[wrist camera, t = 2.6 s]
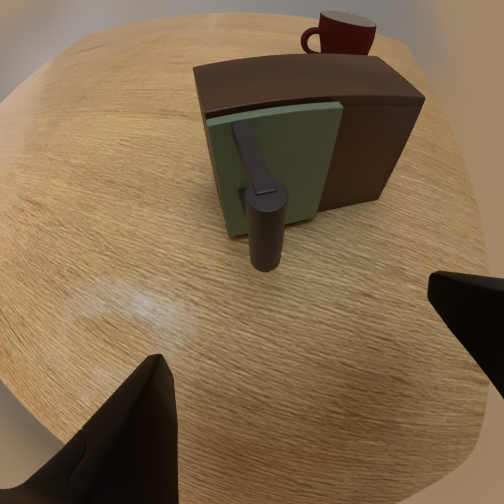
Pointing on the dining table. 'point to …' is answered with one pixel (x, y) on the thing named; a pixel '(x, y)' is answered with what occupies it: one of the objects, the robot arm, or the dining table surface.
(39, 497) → the robot arm
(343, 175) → the cabinet
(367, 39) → the mug
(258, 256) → the door
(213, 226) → the dining table surface
